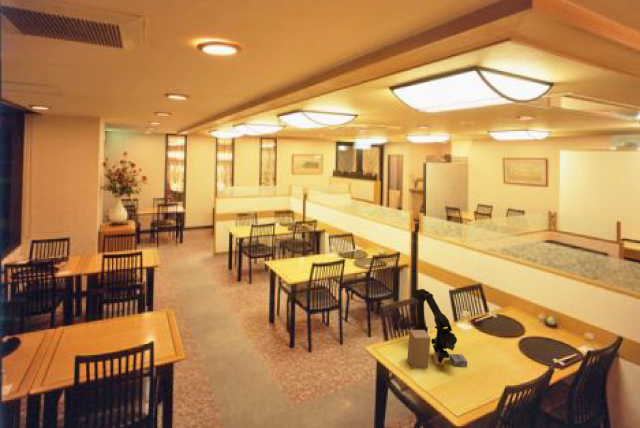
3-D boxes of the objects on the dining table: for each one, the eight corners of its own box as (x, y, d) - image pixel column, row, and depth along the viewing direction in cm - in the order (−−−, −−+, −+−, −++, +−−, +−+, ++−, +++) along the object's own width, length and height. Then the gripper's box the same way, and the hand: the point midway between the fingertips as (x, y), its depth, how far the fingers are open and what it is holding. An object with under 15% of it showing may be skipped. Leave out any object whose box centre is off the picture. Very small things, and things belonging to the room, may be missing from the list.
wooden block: (407, 359, 229) (409, 329, 226) (422, 358, 230) (424, 329, 227) (412, 368, 220) (414, 337, 216) (428, 368, 220) (430, 337, 217)
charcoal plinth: (454, 367, 223) (454, 361, 222) (449, 359, 231) (449, 354, 230) (466, 367, 223) (467, 361, 223) (461, 360, 231) (462, 354, 230)
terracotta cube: (435, 364, 225) (436, 356, 224) (433, 359, 230) (434, 352, 229) (443, 364, 225) (444, 357, 224) (441, 360, 230) (442, 352, 229)
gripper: (459, 346, 215) (456, 369, 218) (449, 330, 234) (447, 353, 236) (440, 344, 216) (438, 368, 218) (432, 330, 234) (430, 352, 237)
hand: (438, 360), depth 227 cm, fingers closed on terracotta cube, 5 cm apart
